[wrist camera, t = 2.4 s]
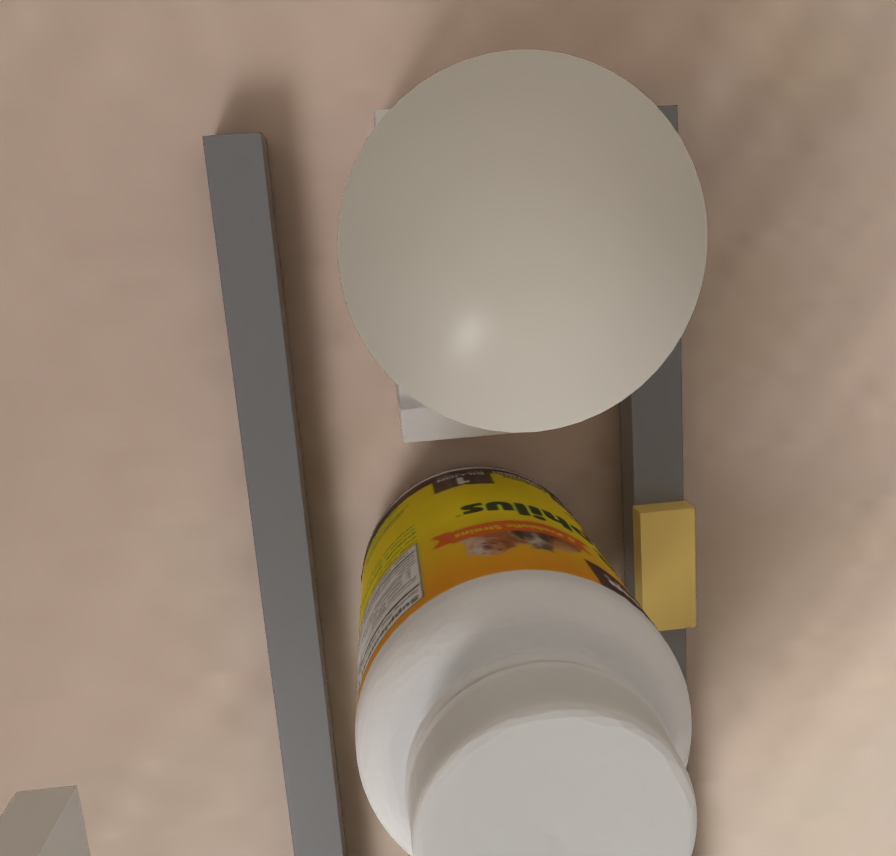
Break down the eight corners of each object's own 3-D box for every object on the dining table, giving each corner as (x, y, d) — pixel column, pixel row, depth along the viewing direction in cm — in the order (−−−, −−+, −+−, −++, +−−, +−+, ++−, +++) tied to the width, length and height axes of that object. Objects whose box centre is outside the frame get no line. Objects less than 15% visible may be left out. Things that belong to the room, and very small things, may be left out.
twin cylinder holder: (678, 898, 24) (889, 1343, 14) (312, 946, 23) (270, 1450, 14) (664, 112, 20) (955, -24, 10) (210, 141, 19) (39, 27, 9)
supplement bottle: (623, 528, 22) (839, 769, 12) (503, 703, 22) (611, 1071, 12) (437, 415, 21) (498, 573, 11) (318, 602, 21) (272, 914, 11)
